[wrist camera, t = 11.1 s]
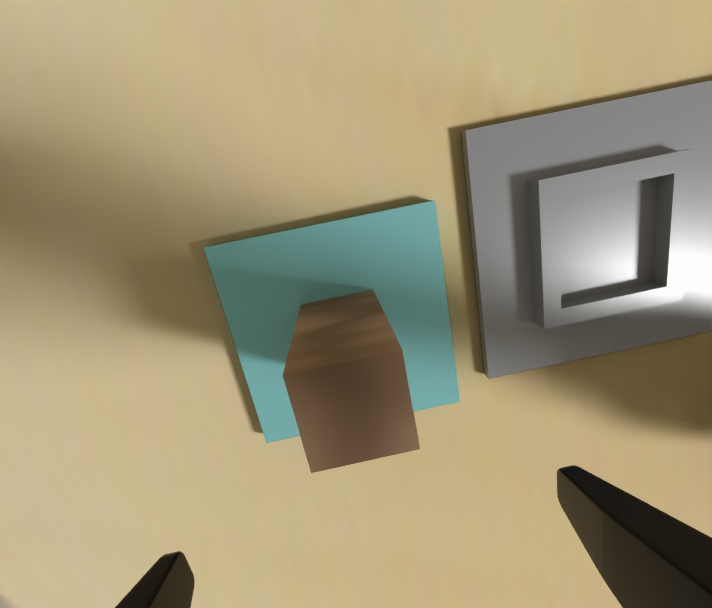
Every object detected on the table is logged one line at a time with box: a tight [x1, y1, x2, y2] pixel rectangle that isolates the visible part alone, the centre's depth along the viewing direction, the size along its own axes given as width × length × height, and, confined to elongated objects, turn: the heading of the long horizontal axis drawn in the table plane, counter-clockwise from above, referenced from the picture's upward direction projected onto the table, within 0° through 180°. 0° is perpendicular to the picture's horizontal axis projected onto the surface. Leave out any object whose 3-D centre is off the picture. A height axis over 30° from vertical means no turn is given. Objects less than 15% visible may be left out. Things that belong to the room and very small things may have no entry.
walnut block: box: [283, 289, 420, 473], centre depth 16 cm, size 4×4×8 cm
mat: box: [204, 201, 460, 443], centre depth 20 cm, size 12×12×1 cm
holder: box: [461, 80, 712, 379], centre depth 20 cm, size 14×14×2 cm
